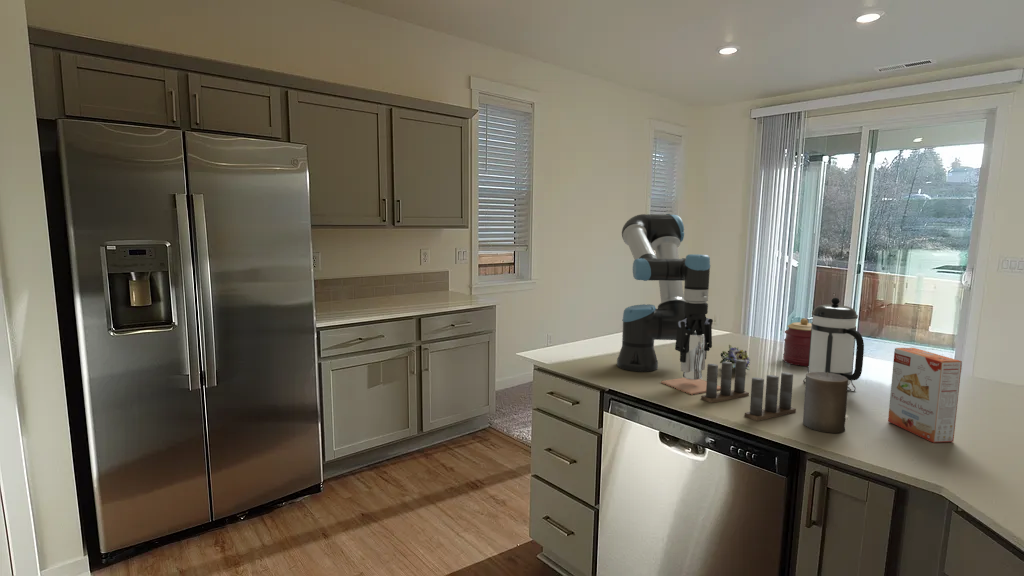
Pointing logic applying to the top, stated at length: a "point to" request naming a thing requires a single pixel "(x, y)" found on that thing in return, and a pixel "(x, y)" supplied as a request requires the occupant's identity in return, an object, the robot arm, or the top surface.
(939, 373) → the cracker box
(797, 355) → the canister
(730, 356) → the passion flower
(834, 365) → the coffee press
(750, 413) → the rack
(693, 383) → the tile pad
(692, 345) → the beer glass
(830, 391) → the pillar candle
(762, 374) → the top surface
